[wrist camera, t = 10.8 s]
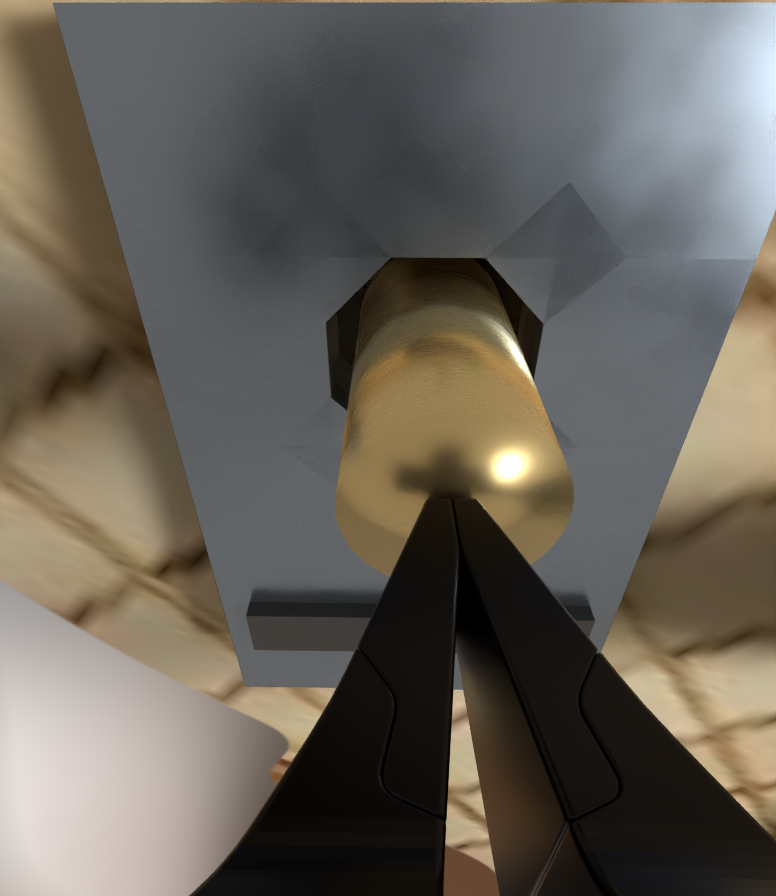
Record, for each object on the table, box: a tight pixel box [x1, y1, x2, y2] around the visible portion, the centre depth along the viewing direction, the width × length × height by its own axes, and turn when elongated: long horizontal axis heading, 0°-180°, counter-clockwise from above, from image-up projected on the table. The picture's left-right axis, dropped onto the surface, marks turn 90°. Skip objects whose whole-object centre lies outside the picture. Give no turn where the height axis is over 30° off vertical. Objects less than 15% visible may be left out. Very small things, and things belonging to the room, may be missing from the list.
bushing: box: [335, 257, 574, 577], centre depth 13 cm, size 4×4×8 cm
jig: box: [53, 3, 776, 690], centre depth 17 cm, size 14×22×3 cm, turn 0°
